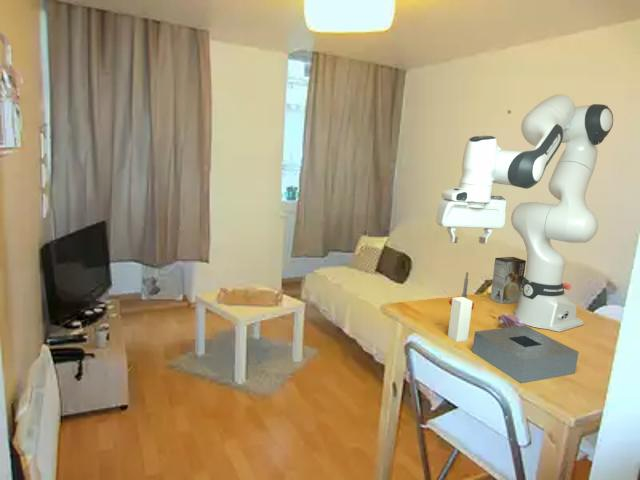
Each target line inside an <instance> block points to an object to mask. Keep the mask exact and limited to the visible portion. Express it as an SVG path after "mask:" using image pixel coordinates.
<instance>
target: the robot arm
mask: <svg viewBox="0 0 640 480" xmlns="http://www.w3.org/2000/svg"><path fill="white" fill-rule="evenodd" d="M613 124H614V114H613V112H612V110H611V108H609V106H608V105H607V104H601V103H600V104H599V103H593V104H591V105H579V106H575V103H574V101H573V100H572V98H571V97H569V96H568V95H566V94H561V93H559V94H554V95H552V96H549V97H547V98H545V99H544V100H543V101H541V102H539V103H538V104H537V105H536V106H534V108H532V109H531V110H529V112H528V113H527V114H525V116H524V117H523V119H522V122H521V125H520V126H521V127H520V129H521V134H522V137H523V138H524V139H525V140H526V142H527V143H528V144H530V145H532V146H534V147H533V149H529V150H510V149H503V148H501V147H500V146H499V145H498V141H497V140H498V139H497V137H496V136H492V135H477V136H476V135H475V136H471V137H470V138H469V139H468V140H467V142H466V144H465V148H464V151H463V156H462V161H461V162H462V164H461V173H462V175H461V178H460V180H459V186H455V187H453V188H449V189H445V190H443V191H441V198H442V200H440V201H439V204H438V207H437V211H436V217H435V221H436V223H437V225H438V226H440V227H445V228H446V231H447V232H448V235H449V243H452V244H457V243H458V236H456V235H455V232H456V228H471V229H473V228H474V229H483V231H484V233H483V234H482V236H479V237H478V239H479V240H478V243H479V244H482V245H483V244H487V243H488V238H489V236H491V234H492V233H493V229H496V230H497V229H498V230H499V229H503V228H504V226H506V225H505V224H506V207H507V200H506V198H504V197H503V196H502V195H492V192H493V185H494V184H498V185H504V186H505V185H506V186H513V187H516V188H521V189H526V190H528V189H530V188H532V187H534V186H536V185H537V184H538V183H539V182H540V181H541V180H542V178H543V175H544V174H545V173H544V172H545V170H546V168H547V166H548V165H549V163H550V162H551V161H552V159H553V157H554V156H555V155H556V153H557V152H558V150H559V148H560V147H561V145H562V144H565V147H564V148H565V149H564V150H563V152H562V154H561V155H560V157H559V159H558V161H557V163H556V166H555V168H554V170H553V172H552V175H551V177H550V179H549V182H548V191H549V192H550V194H551V195H552V196H553V197H554V198H556V199H557V200H558V201H560V202H559V203H558V204H551V203H546V202H545V203H544V202H537V201H536V202H533V201H532V202H531V201H530V202H521V203H519V204H518V205H516V206H515V208H514V209H513V211H512V213H511V217H510V219H511V220H510V221H511V225H512V227H513V229H514V230H515V231H516V233H518V234H519V236H520V238H521V239H522V241H523V243H524V245H525V250H526V265H525V273H524V278H523V282H522V283H523V284H522V291H521V294H520V297H519V301H518V302H517V305H516V307H515V308H514V310H513V312H514V314H513V315H514V316H516V317H517V318H518V319H519V320H521V321H522V322H523V323H524V324H525V325H526V326H528V327H534V328H538V329H545V330H550V331H555V332H564V331H567V330H570V329H574V328H576V327H577V328H578V327H580V326H582V325H584V321H583V319H581V318H580V317H578V316H577V313H578V310H577V306H576V304H575V303H574V302H573V301H572V300H571V299H570V298H569V297H568V296H567V295H566V293H565V290H567V291H570V290H571V288H572V285H571V283H568V282H564V283H563V278H564V271H565V268H566V267H565V265H566V261H565V258H564V256H563V255H562V254H561V253H560V252H559V251H558V250H556V249H555V248H554V247H553V246H552V243H551V240H554V241H558V242H564V243H572V244H573V243H574V244H576V243H578V244H579V243H580V244H581V243H585V244H586V243H589V242H590V241H591V240H592V239H594V237H595V236H596V234H597V233H598V227H599V222H598V218H597V216H596V215H595V213H593V212H592V210H591V209H590V208H589V206H588V204H587V200H586V193H587V190H588V187H589V184H590V182H591V181H590V180H591V179H592V176H593V174H594V171H595V167H596V164H597V159H598V152H599V151H598V147H597V145H600V144H601V143H602V142H603V141H604V140H605V138H606V137H608V135H609V133H610V132H611V130H612V128H613Z"/></svg>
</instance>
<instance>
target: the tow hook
mask: <svg viewBox="0 0 640 480" xmlns="http://www.w3.org/2000/svg"><path fill="white" fill-rule="evenodd" d="M468 283H469V272H466V273H465V278H464V282H463V291H462V293H461V297H465V298H467V296H468V294H467V291H468ZM467 299H468V298H467ZM448 303H449V304H450V305H452V298H450V299H449V302H448ZM474 306H475V305H474V302H472V309H471V310H473V309H474Z"/></svg>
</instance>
